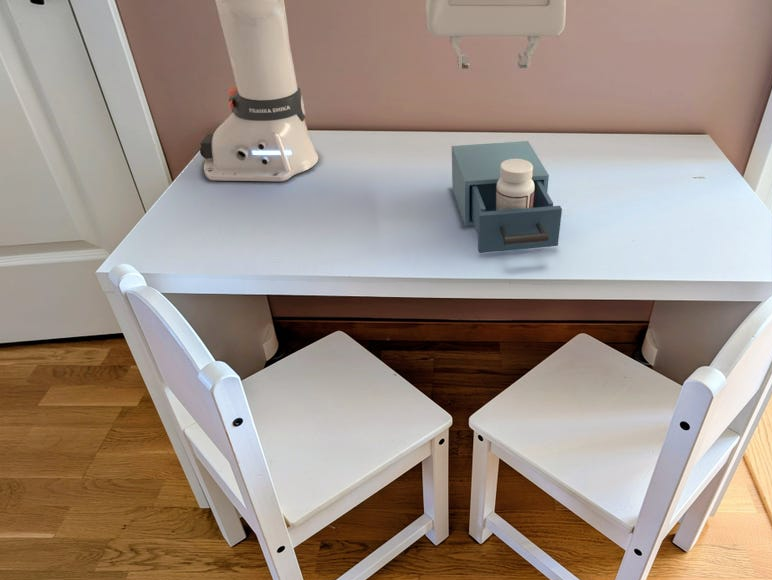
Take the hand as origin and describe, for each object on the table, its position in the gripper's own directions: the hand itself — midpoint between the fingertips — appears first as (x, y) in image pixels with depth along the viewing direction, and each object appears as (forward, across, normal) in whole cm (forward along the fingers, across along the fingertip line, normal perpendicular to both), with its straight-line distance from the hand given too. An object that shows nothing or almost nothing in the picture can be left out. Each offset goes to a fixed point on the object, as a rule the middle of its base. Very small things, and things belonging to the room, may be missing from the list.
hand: (493, 67), depth 92 cm
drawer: (+25, -3, +7) cm, 26 cm away
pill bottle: (+24, -3, +7) cm, 25 cm away
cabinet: (+26, -3, -6) cm, 27 cm away
